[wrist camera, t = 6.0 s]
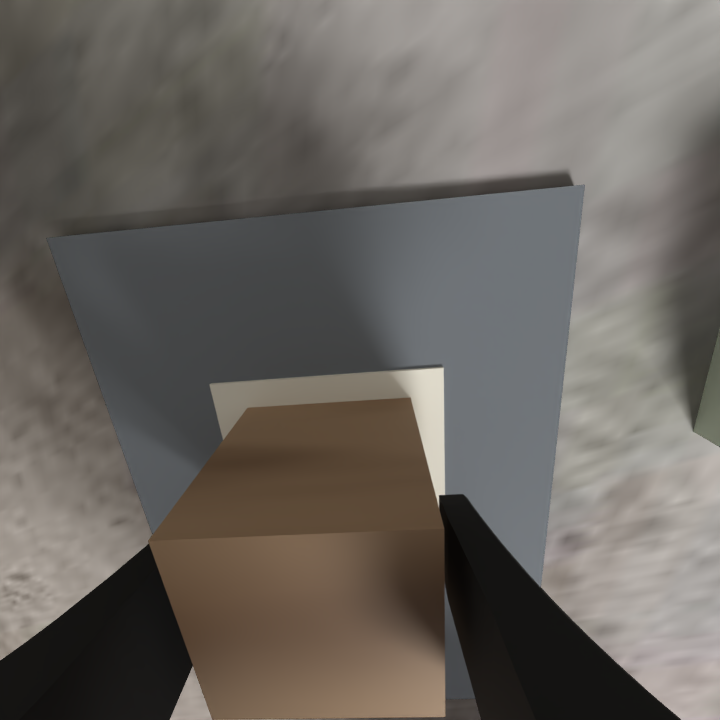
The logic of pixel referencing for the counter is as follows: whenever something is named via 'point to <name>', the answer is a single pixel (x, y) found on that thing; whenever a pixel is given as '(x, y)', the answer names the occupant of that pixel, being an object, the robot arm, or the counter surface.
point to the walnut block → (312, 566)
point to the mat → (344, 341)
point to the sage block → (711, 401)
